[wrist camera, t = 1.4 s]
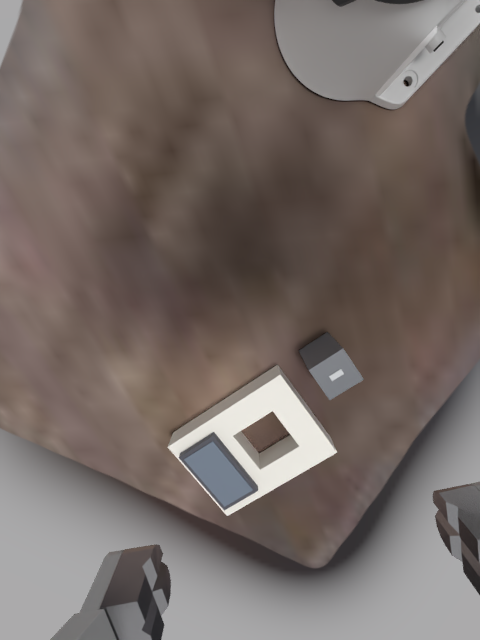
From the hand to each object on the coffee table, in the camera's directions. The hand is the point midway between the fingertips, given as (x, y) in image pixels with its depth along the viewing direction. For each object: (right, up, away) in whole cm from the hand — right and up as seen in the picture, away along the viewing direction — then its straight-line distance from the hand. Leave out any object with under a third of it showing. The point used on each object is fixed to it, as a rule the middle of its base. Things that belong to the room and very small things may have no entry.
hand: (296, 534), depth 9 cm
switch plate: (0, -8, +31) cm, 32 cm away
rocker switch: (+8, +2, +28) cm, 29 cm away
